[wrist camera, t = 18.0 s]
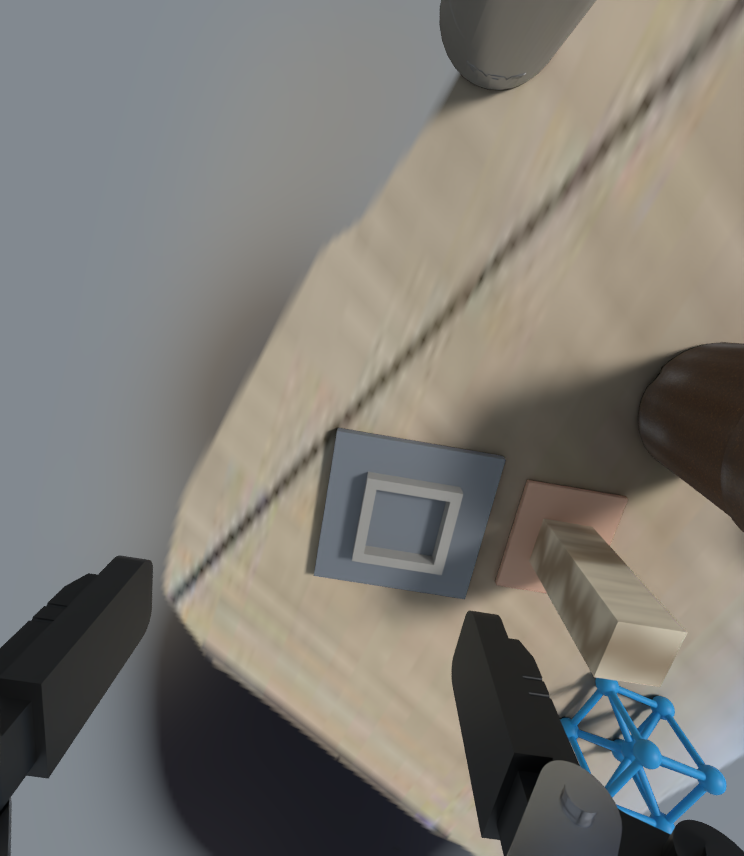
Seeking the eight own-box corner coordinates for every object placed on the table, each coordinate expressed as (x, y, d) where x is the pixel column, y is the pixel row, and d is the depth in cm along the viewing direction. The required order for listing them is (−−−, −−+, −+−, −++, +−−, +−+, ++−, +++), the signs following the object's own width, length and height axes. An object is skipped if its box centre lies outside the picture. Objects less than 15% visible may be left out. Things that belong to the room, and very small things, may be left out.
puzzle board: (338, 427, 41) (335, 436, 39) (502, 455, 42) (510, 465, 40) (315, 569, 46) (311, 585, 44) (463, 592, 47) (467, 609, 44)
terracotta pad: (527, 479, 43) (529, 482, 42) (625, 496, 43) (628, 499, 42) (495, 581, 46) (496, 585, 46) (586, 595, 47) (588, 599, 46)
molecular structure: (599, 664, 50) (652, 754, 40) (670, 695, 51) (738, 789, 41) (550, 723, 52) (589, 819, 43) (619, 750, 54) (671, 850, 44)
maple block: (543, 518, 43) (618, 621, 30) (592, 526, 43) (687, 632, 30) (529, 561, 45) (593, 677, 31) (576, 568, 45) (660, 687, 32)
